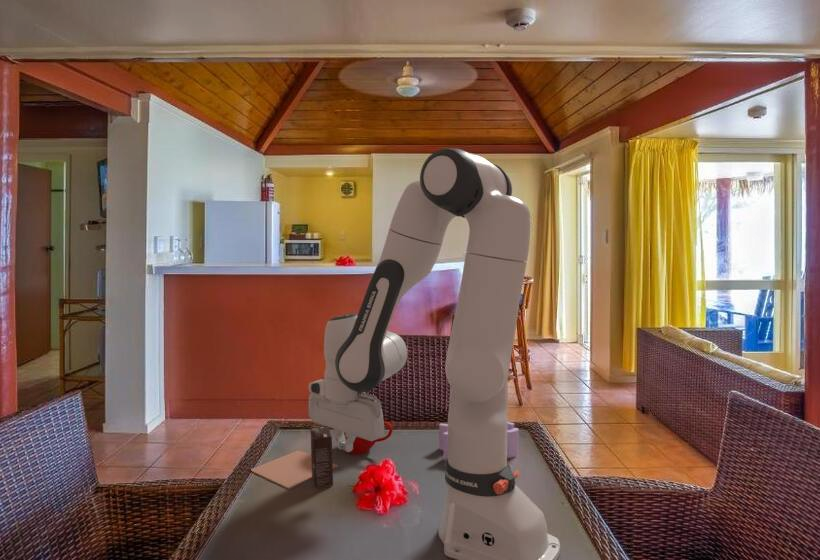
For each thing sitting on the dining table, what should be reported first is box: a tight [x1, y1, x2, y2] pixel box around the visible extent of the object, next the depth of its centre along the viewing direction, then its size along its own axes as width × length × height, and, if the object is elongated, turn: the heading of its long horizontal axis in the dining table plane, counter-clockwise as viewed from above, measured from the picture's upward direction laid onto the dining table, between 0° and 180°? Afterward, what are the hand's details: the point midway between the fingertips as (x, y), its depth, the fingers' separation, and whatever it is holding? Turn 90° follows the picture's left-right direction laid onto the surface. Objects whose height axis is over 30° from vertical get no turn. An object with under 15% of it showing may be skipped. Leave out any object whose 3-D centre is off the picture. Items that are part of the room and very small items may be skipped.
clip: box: [438, 421, 520, 461], centre depth 139 cm, size 20×12×7 cm, turn 96°
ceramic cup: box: [332, 420, 394, 455], centre depth 139 cm, size 13×17×10 cm
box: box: [310, 425, 334, 489], centre depth 121 cm, size 6×4×12 cm
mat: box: [250, 450, 339, 490], centre depth 129 cm, size 15×15×1 cm
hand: (345, 449), depth 116 cm, fingers closed
